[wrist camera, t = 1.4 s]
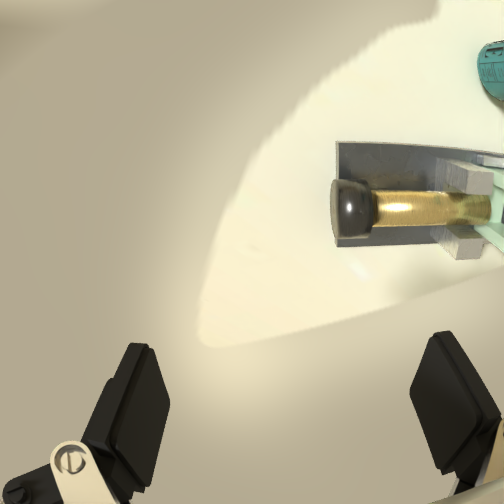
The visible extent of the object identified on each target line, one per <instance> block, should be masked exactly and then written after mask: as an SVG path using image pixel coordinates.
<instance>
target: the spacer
mask: <svg viewBox="0 0 504 504" xmlns="http://www.w3.org/2000/svg"><path fill="white" fill-rule="evenodd" d="M482 168H484V169H487V170H489V171H492V172H494V179H493V188H492V195H487V196H488V198H489V200H490V202H491V217H490V220H489V221H488V223H487V224H485V225H474V230H475V231H477V232H478V233H479V234H481V235H482V236H483V237H485V238H486V239H487V240H488V241H490V242H491V243H492V244H493V245H495V246H496V247H497V248H498V249H500V250H501V251H502V252H503V253H504V224H503V223H501V218H502V212H503V206H504V169H501V168H494V167H485V166H482Z"/></svg>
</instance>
